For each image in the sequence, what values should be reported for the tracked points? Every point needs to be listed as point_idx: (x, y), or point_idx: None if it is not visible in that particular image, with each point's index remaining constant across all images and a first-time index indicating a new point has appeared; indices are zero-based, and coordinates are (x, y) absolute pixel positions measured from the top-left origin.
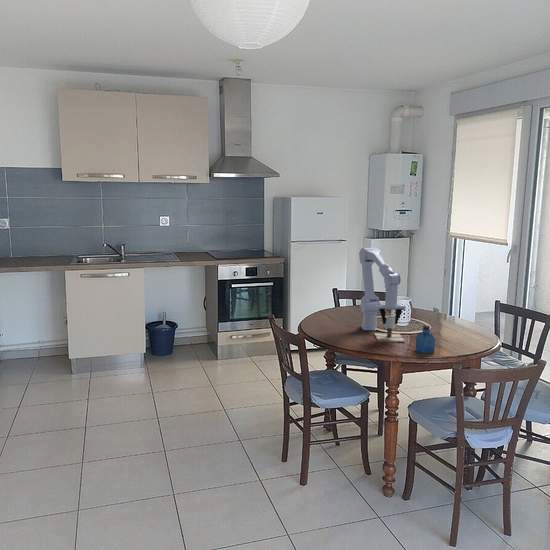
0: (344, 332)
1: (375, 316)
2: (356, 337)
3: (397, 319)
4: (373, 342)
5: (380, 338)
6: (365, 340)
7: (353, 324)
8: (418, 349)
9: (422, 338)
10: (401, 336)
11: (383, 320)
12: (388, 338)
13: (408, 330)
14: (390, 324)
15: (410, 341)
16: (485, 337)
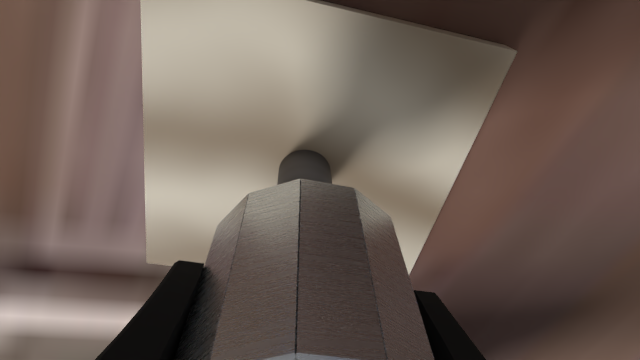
0: (589, 345)
1: None
2: (606, 231)
3: (135, 346)
4: (574, 40)
5: (446, 119)
6: (601, 131)
7: None
8: None
9: None
10: (144, 166)
11: (479, 351)
12: (345, 107)
13: (32, 355)
14: (343, 232)
15: (49, 13)
16: None
